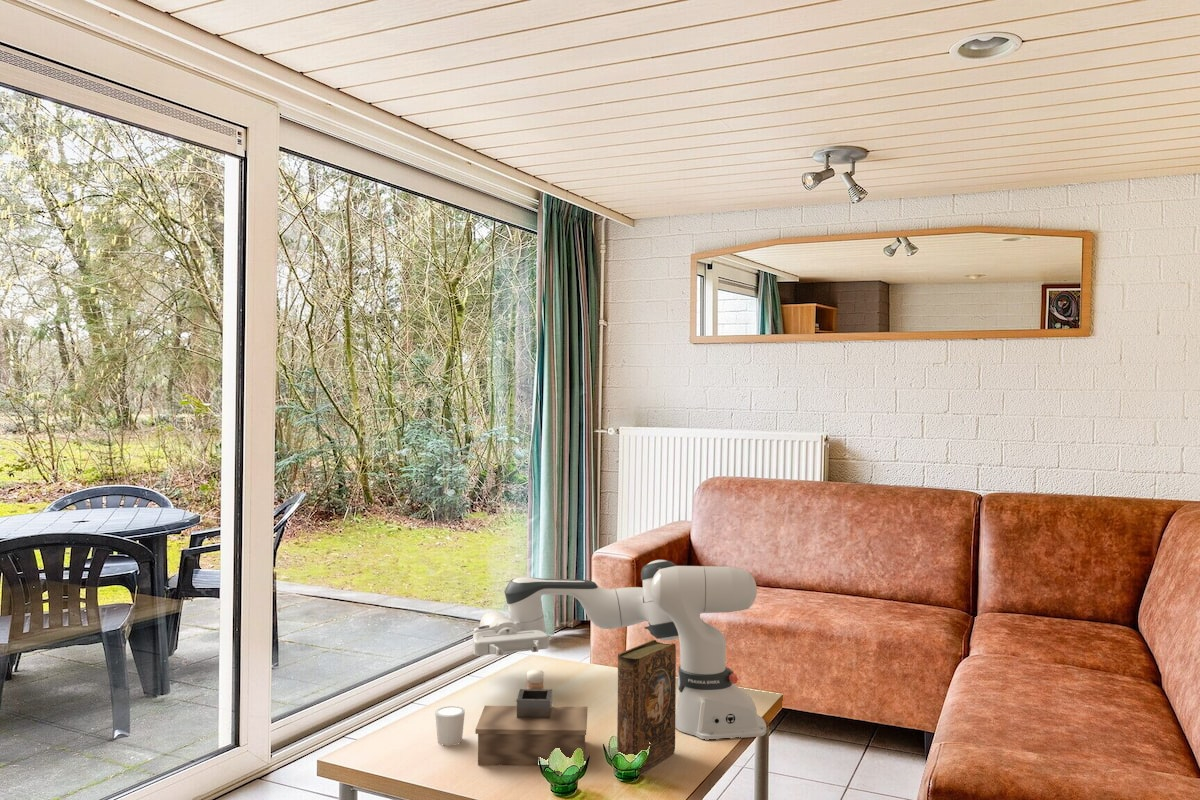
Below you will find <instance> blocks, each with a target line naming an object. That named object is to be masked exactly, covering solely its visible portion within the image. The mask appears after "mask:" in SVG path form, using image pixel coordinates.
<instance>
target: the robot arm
mask: <svg viewBox="0 0 1200 800" xmlns="http://www.w3.org/2000/svg"><path fill="white" fill-rule="evenodd" d="M640 580H641V582H642V587H641V586H630V587H628V586H627V587H618V588H603V587H600V586H598V584H597V583H596V582H595V581H593V580H592V581H591V580H589V579H577V578H576V579H575V578H572V579H571V578H540V577H539V578H538V577H528V576H519V577H515V578H513V579H511V580H510V581H509V582H508V584H507V586H506V587H505V590H504V596H505V600H506V604H507V611H508V615H506V614H504V613H503V612H501V611H498V610H489V611H488V612H486V613H485V614H484V615H483V616H482V617H481V619H480V623H479V627H475V628H473V634H472V652H473V655H475V656H477V657H478V656H479V657H480V656H489V655H495V656H497V657H499V656H507V655H511V654H512V653H518V652H527V651H529V652H530V651H531V652H532V653H538V652H539V650H547V649H549V648H550V635H549V634H548V633H546V623H545V622H546V621H545V615H544V610H543V602H542V596H544V595H546V596H547V595H550V596H551V595H554V596H555V595H556V596H557V595H559V596H564V595H565V596H572V597H573V598H575V599H576V600H578V602H579V603H580V605H581V606H582V609H583V610H584V612H585V614H586V615H587V617H588V619H589V621H591V623H592V624H594V625H595V626H596V627H598V628H599V629H603V630H613V629H614V630H615V629H621V628H625V627H626V628H627V627H630V626H635V625H638V624H641V623H644V622H648V624H649V625H648V626H644V629H645V630H648V632H649V634H650V635H651V636H652V637H654V638H655V639H656V640H658V639H659V640H661V641H669V642H670V641H675V640H676V639H678V640H679V653H680V654H679V655H680V656H679V657H680V658H679V659H680V664H679V666H678V671H677V688H678V700H677V707H676V710H675V729H677V731H680V732H681V733H684V734H688V735H691V736H696V737H697V738H699V739H701V740H703V739H705V740H704V741H710V740H709V739H716V740H720V739H719V738H730V739H732V738H731V737H734V738H733V739H736V738H735V737H739V738H738V739H743V738H758V737H763V736H765V735H766V733H767V730H768V729H767V724H766V721H765V719H763V717H762V716H760V715H759V714H758V712H757V706H756V705H755V702H754V700H753V699H752V697H751V696H750V695H749V694H748V693H747V692H745V691H744V690H743V689H741V688H740V687H739V686H737V683H738V682H739V678H738V676H737V674H736V673H734V671H733V670H732V669H731V668H730V667H729V666H728V667H727V666H726V664H727V663H726V662H727V660H726V657H727V656H726V655H727V654H726V653H727V651H726V650H727V643H726V638H725V635H724V633H723V632H722V631H720V630H719V628H716V627H715V626H714V625H711V624H709V623H707V622H706V621H704V620H703V619H702V618H701V614H720V613H722V614H724V613H725V614H726V613H727V614H728V613H734V612H740V611H741V612H742V611H746V610H749V609H750V608H751V607H752V606H753V604H754V603H755V600H756V598H757V593H758V592H757V589H758V588H757V584H756V583H757V582H756V580H755V578H754V576H753V575H752V573H750V572H749V570H747V569H744V568H739V567H733V566H720V565H719V566H718V565H716V566H715V565H713V566H712V565H711V566H709V565H704V566H703V565H701V566H700V565H677V564H675V563H674V562H672V561H671V560H666V559H656V560H652V561H650V562H649V563H647V564H645V565H643V567H642V568H641V574H640ZM740 737H741V738H740Z"/></svg>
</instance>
